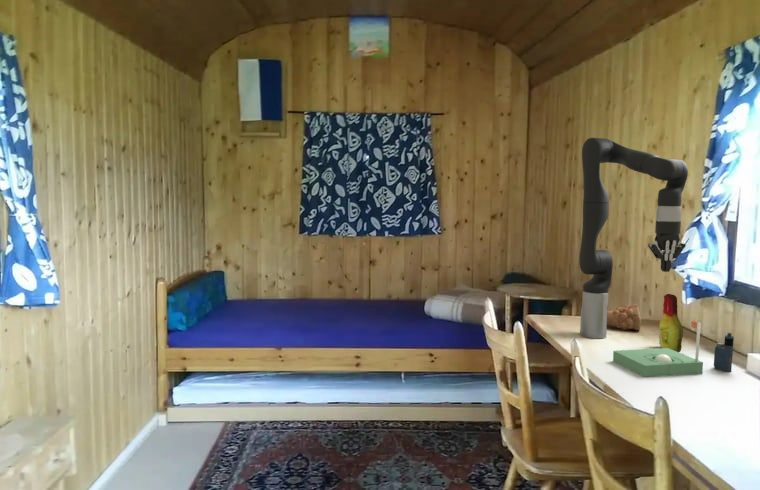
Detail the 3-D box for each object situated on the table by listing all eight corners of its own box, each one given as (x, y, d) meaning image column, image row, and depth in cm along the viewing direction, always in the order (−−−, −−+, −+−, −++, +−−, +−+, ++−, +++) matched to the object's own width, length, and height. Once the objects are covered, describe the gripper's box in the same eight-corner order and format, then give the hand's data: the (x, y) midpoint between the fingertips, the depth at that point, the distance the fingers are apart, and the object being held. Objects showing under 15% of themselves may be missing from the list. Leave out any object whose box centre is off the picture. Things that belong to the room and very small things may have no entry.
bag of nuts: (619, 342, 224) (653, 330, 226) (613, 317, 223) (648, 305, 224) (594, 329, 243) (626, 318, 244) (589, 306, 241) (621, 295, 243)
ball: (663, 368, 175) (653, 372, 179) (677, 367, 176) (668, 371, 180) (658, 352, 177) (648, 357, 181) (672, 351, 178) (662, 356, 182)
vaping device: (728, 372, 177) (731, 334, 175) (711, 367, 181) (714, 330, 180) (733, 371, 178) (736, 333, 177) (716, 366, 182) (719, 330, 181)
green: (613, 361, 188) (615, 314, 186) (666, 358, 191) (669, 312, 190) (644, 377, 172) (647, 326, 170) (702, 373, 176) (705, 324, 174)
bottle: (653, 345, 207) (656, 291, 205) (672, 346, 206) (675, 291, 204) (665, 355, 195) (668, 297, 193) (685, 355, 194) (688, 298, 192)
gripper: (678, 219, 195) (675, 269, 196) (643, 219, 192) (640, 270, 194) (694, 220, 187) (690, 272, 189) (658, 220, 185) (655, 273, 187)
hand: (665, 271), depth 191 cm, fingers closed
